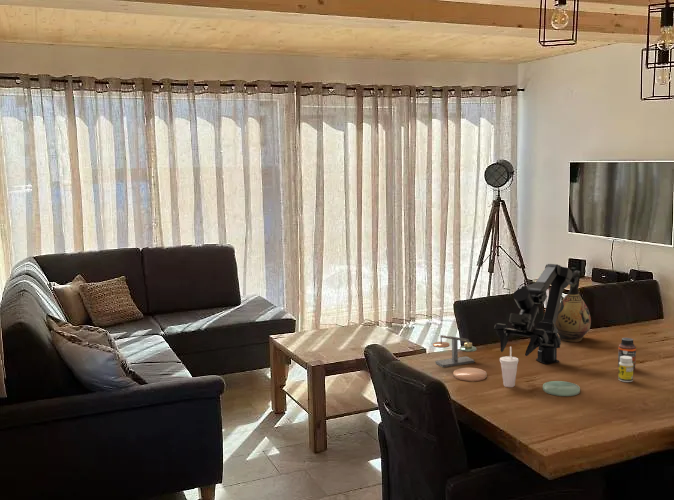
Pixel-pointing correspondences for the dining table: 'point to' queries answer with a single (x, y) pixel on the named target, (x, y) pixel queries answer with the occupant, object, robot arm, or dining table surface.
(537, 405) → the dining table surface
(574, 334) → the ceramic jug
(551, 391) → the green dish
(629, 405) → the dining table surface
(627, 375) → the supplement bottle
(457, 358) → the balance
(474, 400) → the dining table surface
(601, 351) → the dining table surface
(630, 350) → the supplement bottle
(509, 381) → the smoothie
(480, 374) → the terracotta dish
